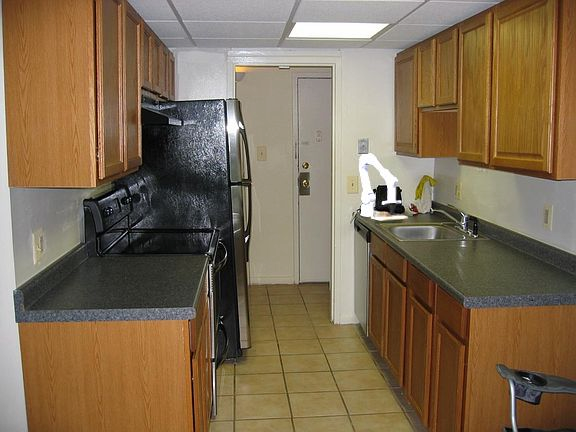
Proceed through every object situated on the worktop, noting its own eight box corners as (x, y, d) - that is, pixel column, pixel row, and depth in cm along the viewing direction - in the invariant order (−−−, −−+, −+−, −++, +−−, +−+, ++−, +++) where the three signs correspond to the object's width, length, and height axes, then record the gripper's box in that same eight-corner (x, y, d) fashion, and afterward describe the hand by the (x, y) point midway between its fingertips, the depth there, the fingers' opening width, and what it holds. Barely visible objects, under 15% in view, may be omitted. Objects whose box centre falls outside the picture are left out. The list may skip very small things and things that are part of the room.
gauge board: (370, 218, 439) (370, 211, 439) (397, 215, 448) (397, 208, 447) (380, 220, 428) (380, 213, 427) (408, 218, 436) (408, 211, 435)
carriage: (380, 216, 440) (380, 212, 440) (384, 215, 441) (384, 211, 441) (388, 218, 431) (388, 213, 430) (392, 217, 432) (392, 213, 432)
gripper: (385, 196, 432) (385, 215, 434) (403, 194, 437) (403, 214, 439) (380, 194, 438) (380, 214, 440) (398, 193, 444) (398, 212, 446)
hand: (391, 214), depth 440 cm, fingers closed
